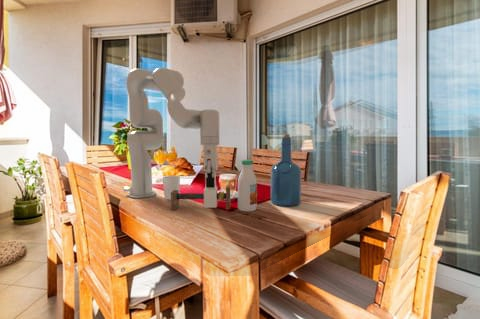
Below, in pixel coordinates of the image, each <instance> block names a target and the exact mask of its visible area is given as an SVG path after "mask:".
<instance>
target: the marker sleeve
mask: <svg viewBox="0 0 480 319" xmlns="http://www.w3.org/2000/svg"><path fill="white" fill-rule="evenodd" d="M216 174H217V173H216V172H214V173H213V176H214V187H206V172H205V174H204V180H205V181H204V182H205V185H204V186H205V187H204V188H203V193H204V199H203V208H205V209H206V208H212V209H213V208H215V209H216V208H217V207H218V202H219V199H217V193H218V186H217V181H216V180H217V179H216V176H217V175H216Z"/></svg>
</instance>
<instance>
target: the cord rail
mask: <svg viewBox="0 0 480 319" xmlns="http://www.w3.org/2000/svg"><path fill="white" fill-rule="evenodd" d="M225 186H226V187H225V192H224V191H218V192H217V199H218V202H219V201H225V210H227V211H229V210H228V209H230V210H231V185H230V184H227V185H225ZM179 191H180V190H173V191H172V192H171V200H170V208H171V211H177V210H178V209H179V207H180V200H204V192H197V193H196V192H194V193H193V192H191V193H190V192H187V193H183V192H182V193H181V192H179Z"/></svg>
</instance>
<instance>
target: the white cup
mask: <svg viewBox="0 0 480 319" xmlns="http://www.w3.org/2000/svg"><path fill="white" fill-rule="evenodd" d="M180 182H181V177H180V176H179V175H167V176H162V188H163V195H164V200H168V201H171V192H172V191H173V190H179V193H181V192H180V190H181V189H180V187H181V185H180Z"/></svg>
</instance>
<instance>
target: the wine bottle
mask: <svg viewBox="0 0 480 319" xmlns="http://www.w3.org/2000/svg"><path fill="white" fill-rule="evenodd" d="M280 145H281V153H280V154H281V156H280V157H281V158H280V161H278V162H276V163H275V164H273V165H272V167H271V169H270V202H271V203H272V204H274V205H276V206H280V207H293V206H297V205H299V204H301V203H302V178H303V177H302V171H303V170H302V169H301V167H300V165H298V164H297V163H295V162H293V160H292V137H291V136H290V133H284V134H283V136H282V138H281V144H280Z"/></svg>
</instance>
